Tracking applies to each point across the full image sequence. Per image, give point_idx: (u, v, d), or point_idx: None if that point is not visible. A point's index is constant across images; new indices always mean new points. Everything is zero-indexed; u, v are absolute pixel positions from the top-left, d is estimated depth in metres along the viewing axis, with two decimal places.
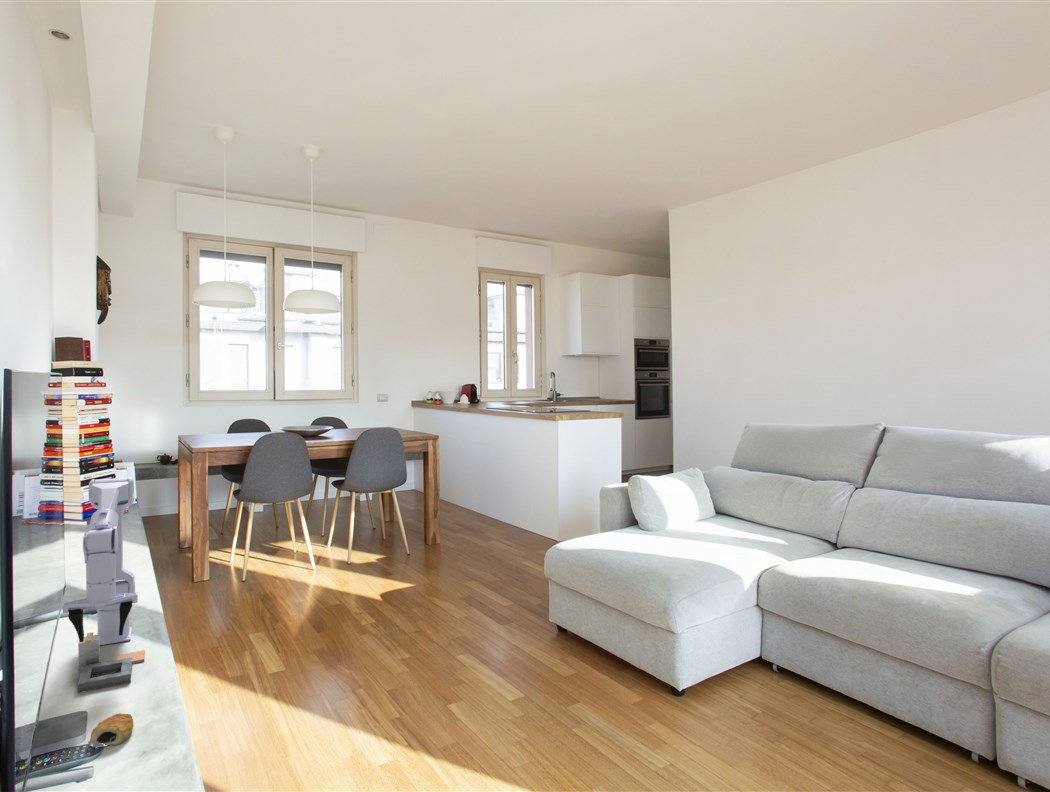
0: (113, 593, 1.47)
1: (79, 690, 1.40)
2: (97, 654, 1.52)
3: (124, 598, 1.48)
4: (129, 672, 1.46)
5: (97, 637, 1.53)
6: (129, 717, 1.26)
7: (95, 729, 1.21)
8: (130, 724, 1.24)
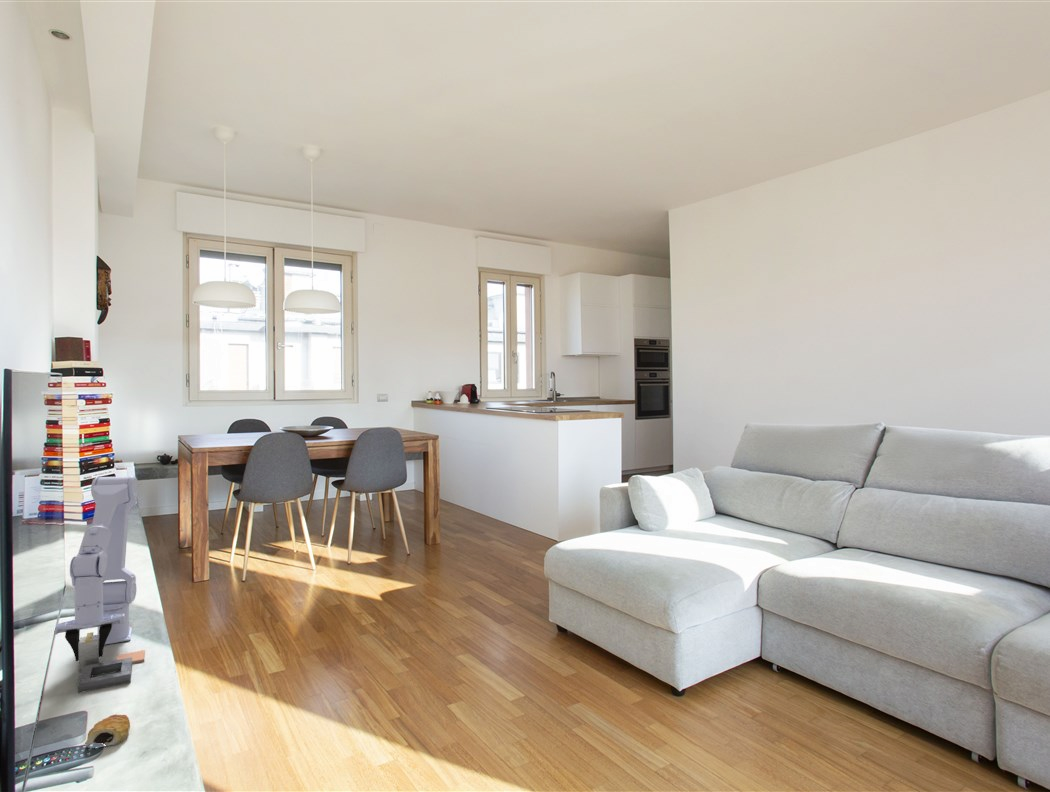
0: (100, 615, 1.52)
1: (79, 690, 1.40)
2: (97, 654, 1.52)
3: (111, 619, 1.53)
4: (129, 672, 1.46)
5: (97, 637, 1.53)
6: (125, 718, 1.26)
7: (92, 730, 1.20)
8: (127, 724, 1.24)
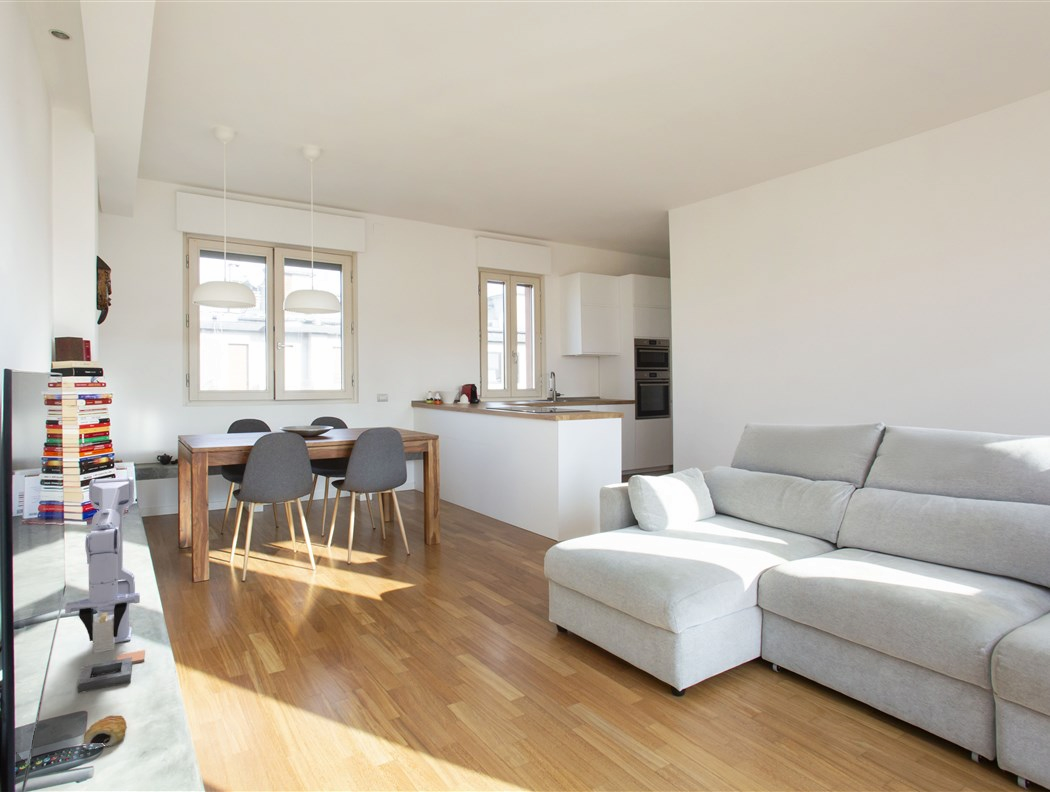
0: (115, 593, 1.47)
1: (79, 690, 1.40)
2: (112, 634, 1.47)
3: (126, 598, 1.48)
4: (129, 672, 1.46)
5: (112, 617, 1.48)
6: (122, 719, 1.26)
7: (88, 731, 1.20)
8: (123, 725, 1.24)
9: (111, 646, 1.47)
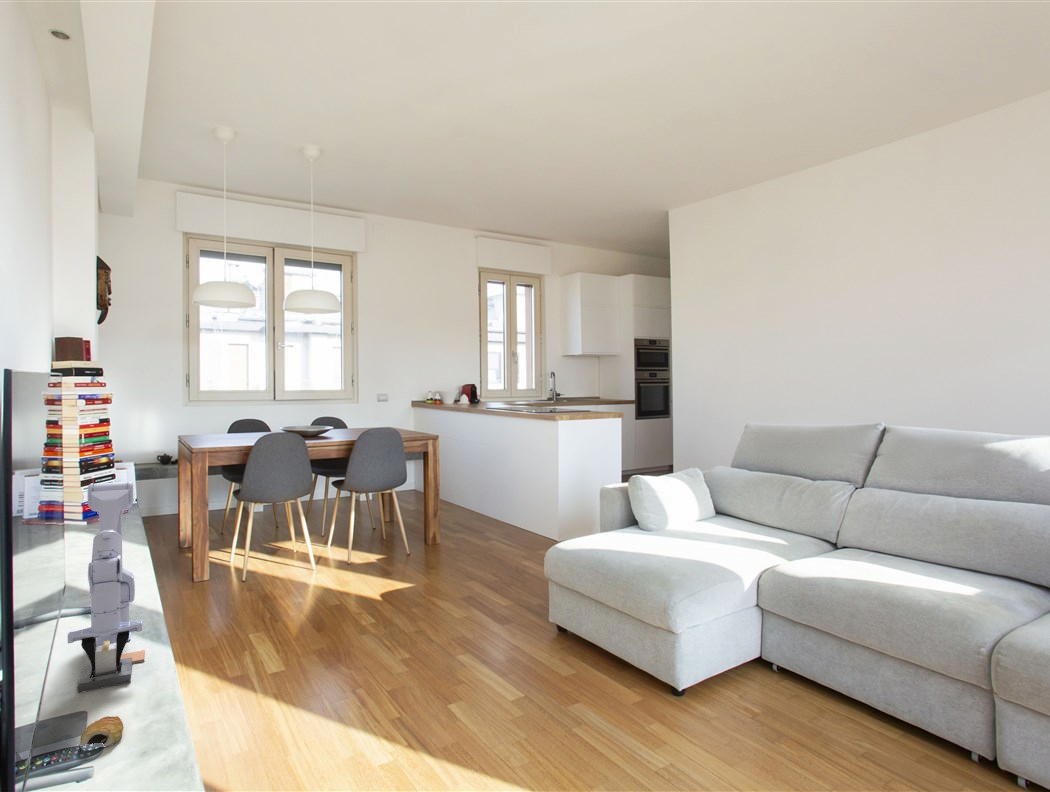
0: (118, 622, 1.47)
1: (79, 690, 1.40)
2: (114, 663, 1.46)
3: (129, 627, 1.48)
4: (129, 672, 1.46)
5: (114, 646, 1.48)
6: (118, 719, 1.25)
7: (85, 732, 1.20)
8: (120, 726, 1.23)
9: None
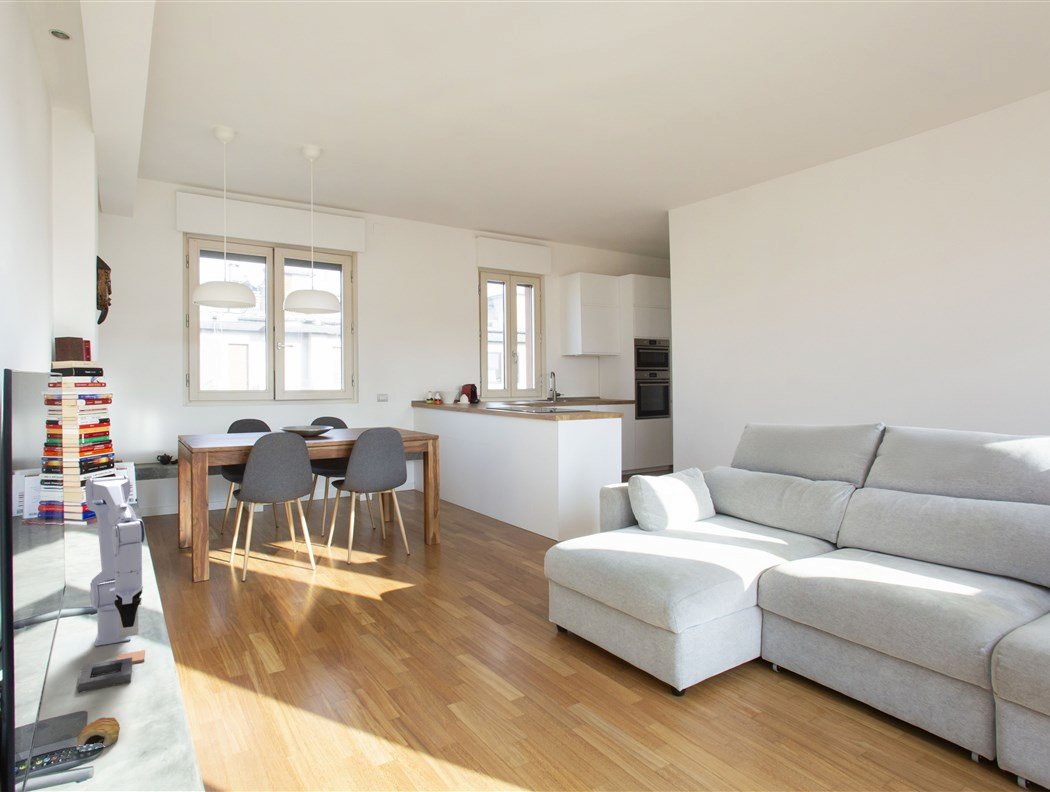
0: (121, 586, 1.53)
1: (79, 690, 1.40)
2: (119, 623, 1.54)
3: (120, 595, 1.51)
4: (129, 672, 1.46)
5: None
6: (114, 720, 1.25)
7: (81, 733, 1.19)
8: (117, 726, 1.23)
9: (119, 634, 1.54)
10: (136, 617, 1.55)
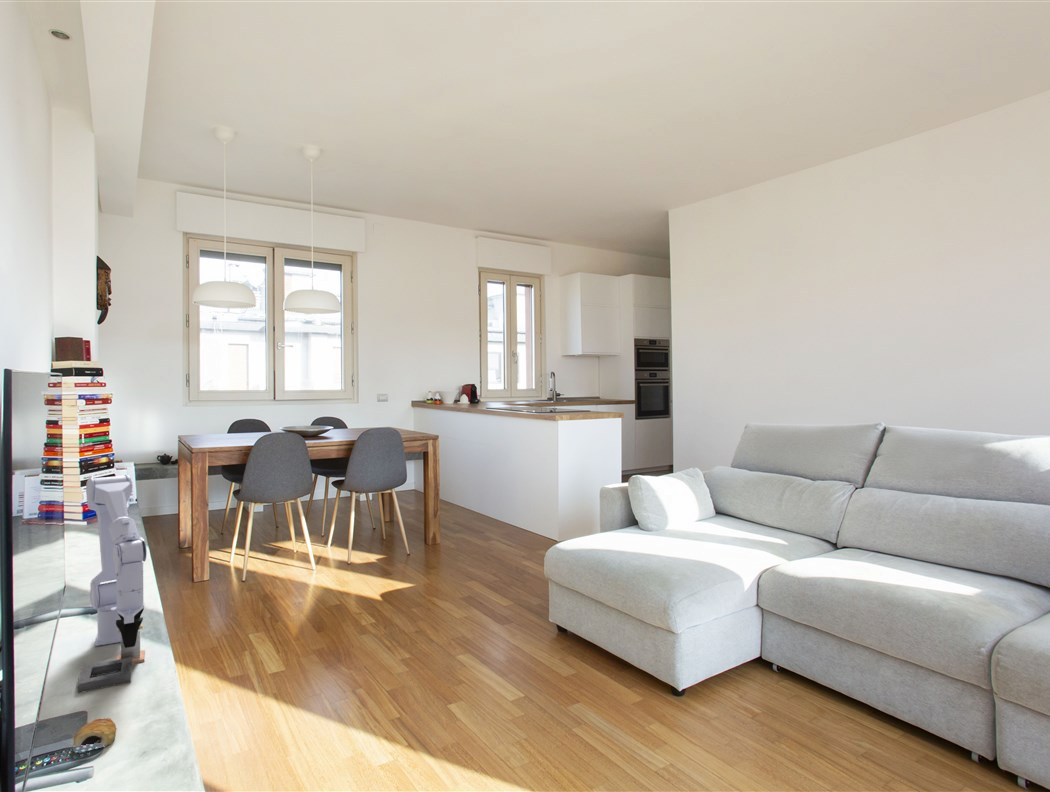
0: (123, 605, 1.54)
1: (79, 690, 1.40)
2: None
3: (121, 614, 1.52)
4: (129, 672, 1.46)
5: None
6: (111, 721, 1.25)
7: (78, 734, 1.19)
8: (113, 727, 1.23)
9: (121, 658, 1.55)
10: (138, 641, 1.56)
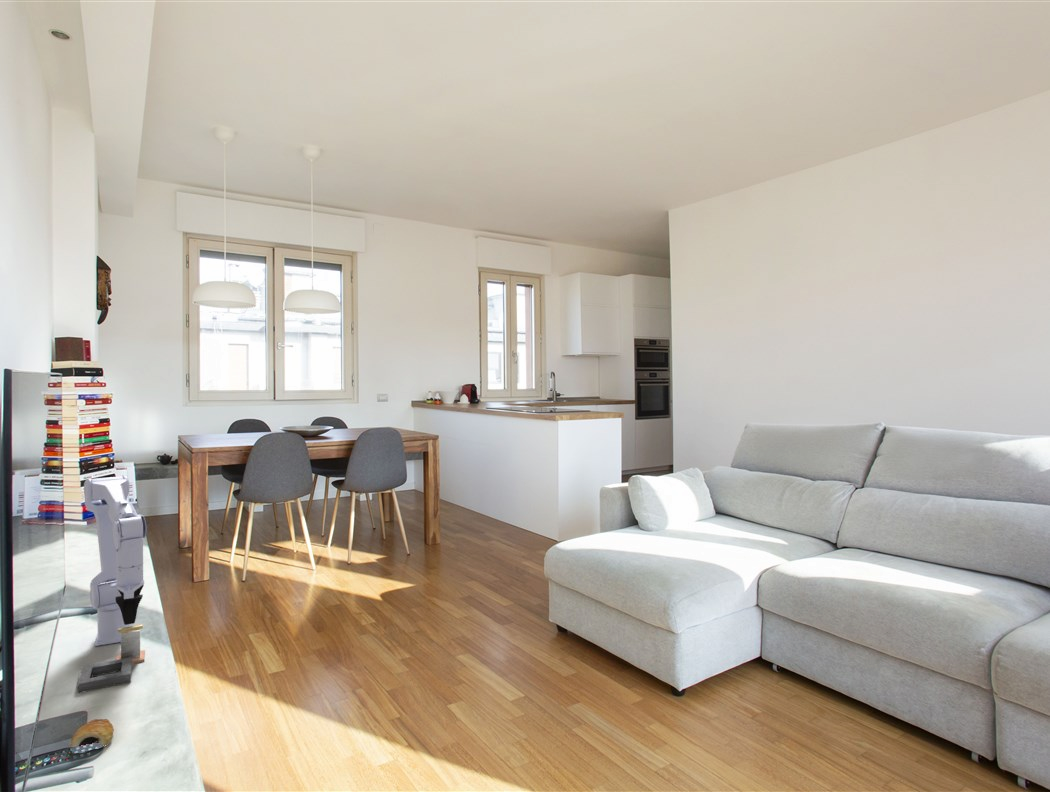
0: (123, 581, 1.54)
1: (79, 690, 1.40)
2: None
3: (121, 589, 1.52)
4: (129, 672, 1.46)
5: (130, 631, 1.55)
6: (108, 722, 1.25)
7: (75, 735, 1.19)
8: (111, 728, 1.23)
9: (121, 658, 1.55)
10: (138, 641, 1.56)
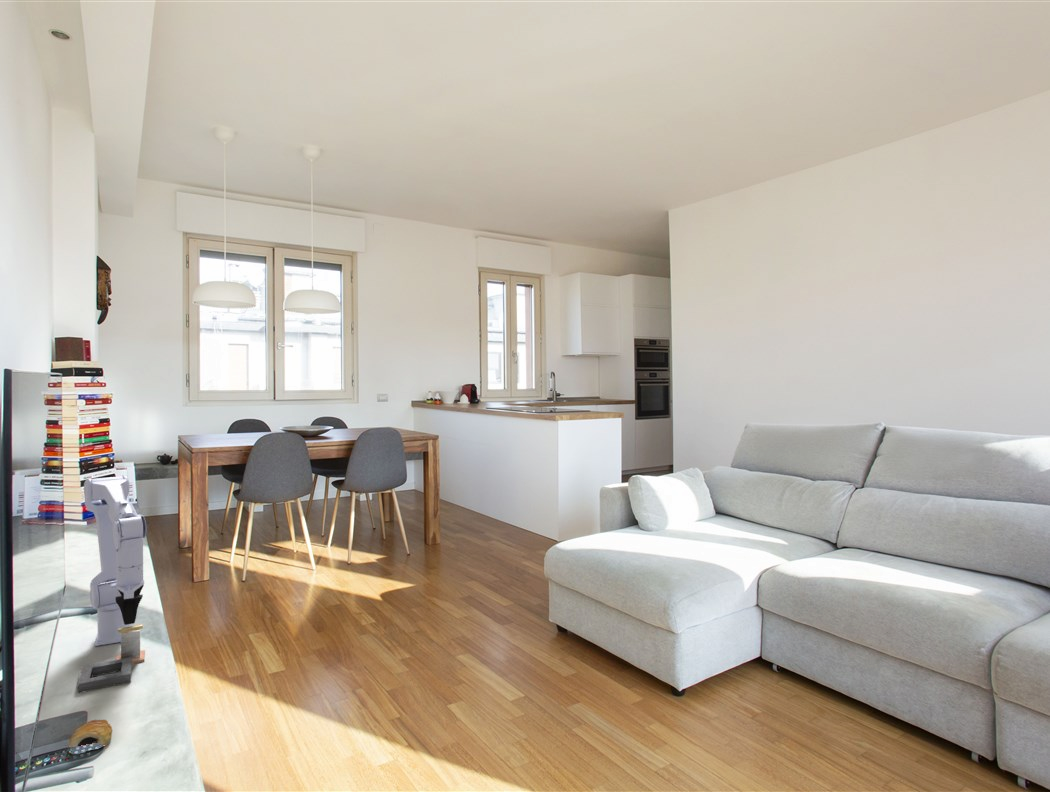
0: (123, 581, 1.54)
1: (79, 690, 1.40)
2: None
3: (121, 589, 1.52)
4: (129, 672, 1.46)
5: (130, 631, 1.55)
6: (106, 722, 1.24)
7: (74, 736, 1.18)
8: (109, 728, 1.23)
9: (121, 658, 1.55)
10: (138, 641, 1.56)
